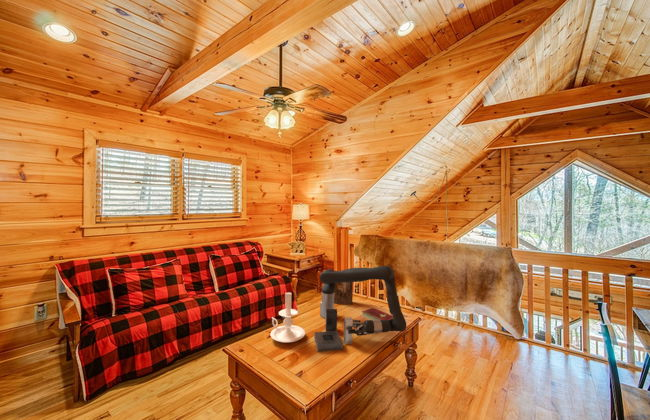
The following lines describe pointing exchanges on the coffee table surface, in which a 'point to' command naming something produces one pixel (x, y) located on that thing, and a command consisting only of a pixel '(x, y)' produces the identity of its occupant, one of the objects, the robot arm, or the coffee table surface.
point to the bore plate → (328, 341)
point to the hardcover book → (376, 314)
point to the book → (343, 292)
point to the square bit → (347, 325)
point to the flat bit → (331, 320)
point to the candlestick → (287, 324)
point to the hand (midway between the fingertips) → (346, 328)
